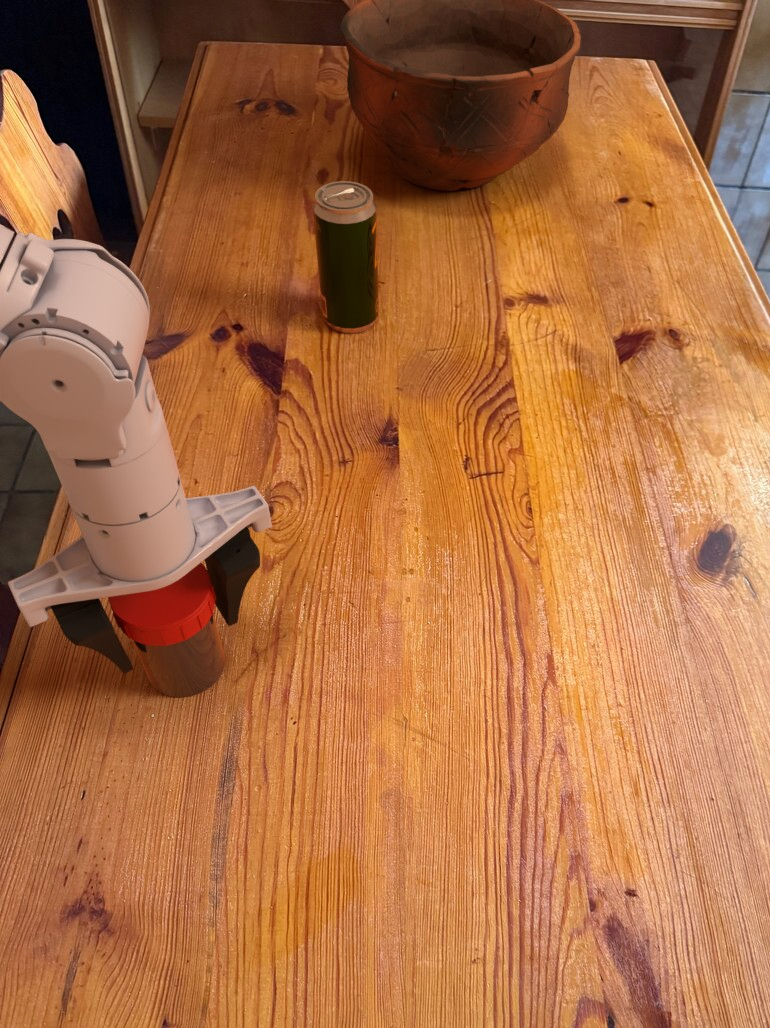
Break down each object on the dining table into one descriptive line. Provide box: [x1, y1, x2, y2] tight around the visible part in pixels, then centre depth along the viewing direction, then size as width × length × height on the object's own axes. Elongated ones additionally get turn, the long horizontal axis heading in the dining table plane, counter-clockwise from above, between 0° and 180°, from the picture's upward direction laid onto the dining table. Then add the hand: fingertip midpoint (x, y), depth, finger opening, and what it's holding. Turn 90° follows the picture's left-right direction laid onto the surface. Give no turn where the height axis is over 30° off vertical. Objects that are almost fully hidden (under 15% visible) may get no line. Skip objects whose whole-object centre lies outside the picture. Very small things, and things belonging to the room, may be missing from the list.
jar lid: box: [108, 562, 216, 646], centre depth 54 cm, size 6×6×2 cm
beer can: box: [312, 180, 380, 334], centre depth 80 cm, size 5×5×12 cm
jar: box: [131, 614, 226, 698], centre depth 57 cm, size 5×5×8 cm
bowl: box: [339, 0, 582, 192], centre depth 97 cm, size 25×25×15 cm
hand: (176, 636), depth 57 cm, fingers open, 6 cm apart
